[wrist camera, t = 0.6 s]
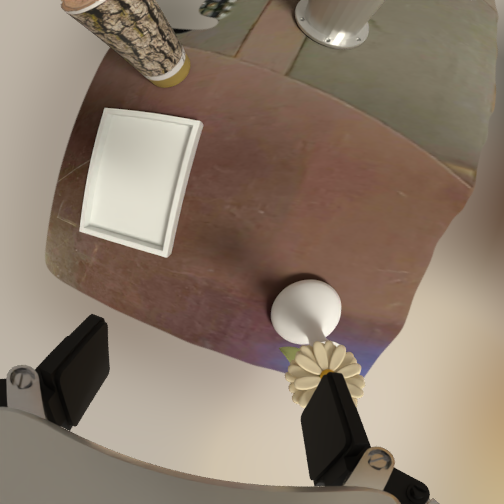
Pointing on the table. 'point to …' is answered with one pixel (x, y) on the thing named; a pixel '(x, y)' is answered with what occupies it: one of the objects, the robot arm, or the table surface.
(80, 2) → the paper tube
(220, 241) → the table surface
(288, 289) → the flower in vase
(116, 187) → the tray
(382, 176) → the table surface
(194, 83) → the table surface
